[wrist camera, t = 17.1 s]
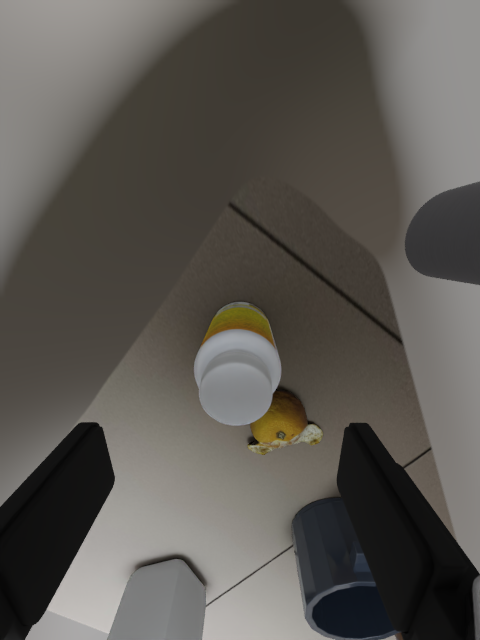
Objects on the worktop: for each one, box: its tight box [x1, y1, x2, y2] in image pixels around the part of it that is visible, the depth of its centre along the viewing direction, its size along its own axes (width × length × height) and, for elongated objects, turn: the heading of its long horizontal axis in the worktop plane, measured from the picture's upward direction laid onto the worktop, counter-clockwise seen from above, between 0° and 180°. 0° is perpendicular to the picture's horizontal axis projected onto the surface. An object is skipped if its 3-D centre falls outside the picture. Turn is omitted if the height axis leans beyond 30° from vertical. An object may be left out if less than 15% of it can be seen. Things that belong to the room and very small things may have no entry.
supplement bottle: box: [194, 302, 281, 426], centre depth 17 cm, size 6×6×10 cm
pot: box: [292, 498, 400, 640], centre depth 26 cm, size 11×16×8 cm
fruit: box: [248, 389, 323, 455], centre depth 23 cm, size 8×8×4 cm
